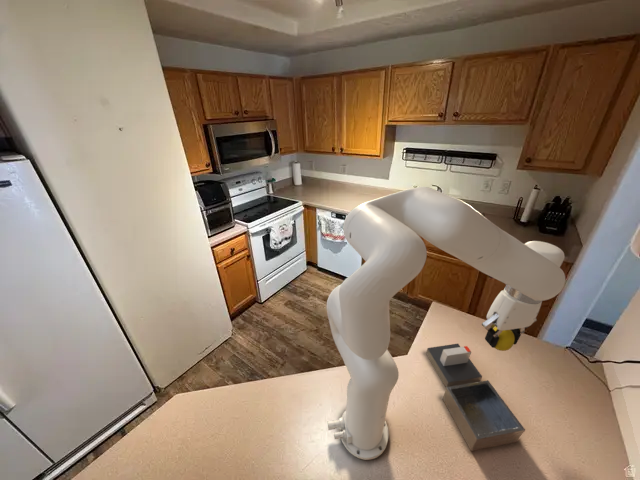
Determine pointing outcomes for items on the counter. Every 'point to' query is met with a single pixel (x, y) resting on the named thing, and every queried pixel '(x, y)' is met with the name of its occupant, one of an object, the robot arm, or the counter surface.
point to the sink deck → (453, 368)
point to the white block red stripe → (455, 356)
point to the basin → (482, 415)
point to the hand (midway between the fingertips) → (500, 341)
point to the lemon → (505, 340)
